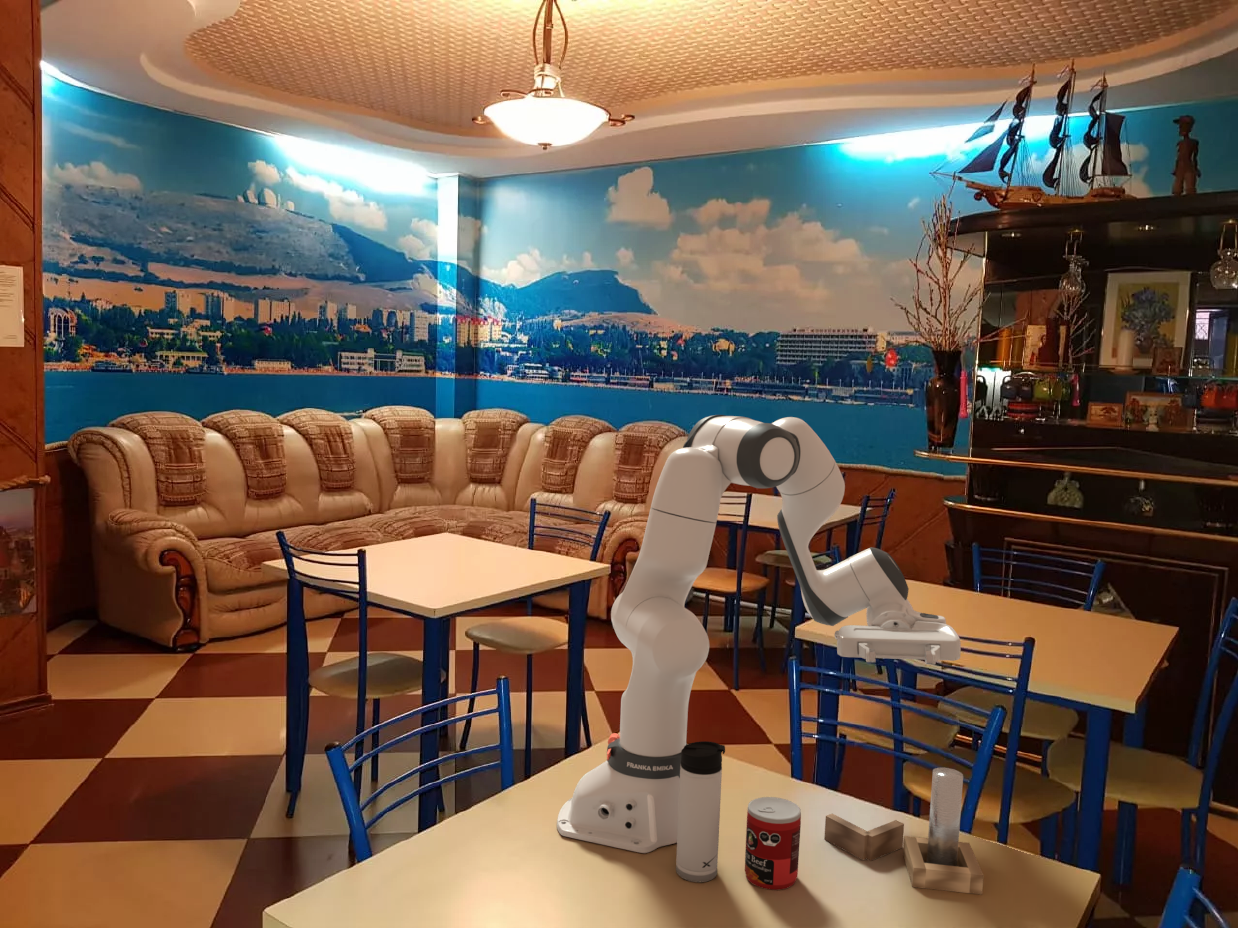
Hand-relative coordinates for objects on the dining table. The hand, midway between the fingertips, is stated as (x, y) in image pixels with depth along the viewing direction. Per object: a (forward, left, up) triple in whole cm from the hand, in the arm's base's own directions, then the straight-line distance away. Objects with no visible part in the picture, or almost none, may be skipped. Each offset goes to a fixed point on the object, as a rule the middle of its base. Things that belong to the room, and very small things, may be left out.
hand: (900, 658), depth 154 cm
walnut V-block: (-5, -6, -30) cm, 31 cm away
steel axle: (+6, -11, -30) cm, 33 cm away
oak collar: (+6, -11, -30) cm, 33 cm away
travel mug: (-31, -19, -30) cm, 47 cm away
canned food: (-20, -18, -30) cm, 40 cm away
